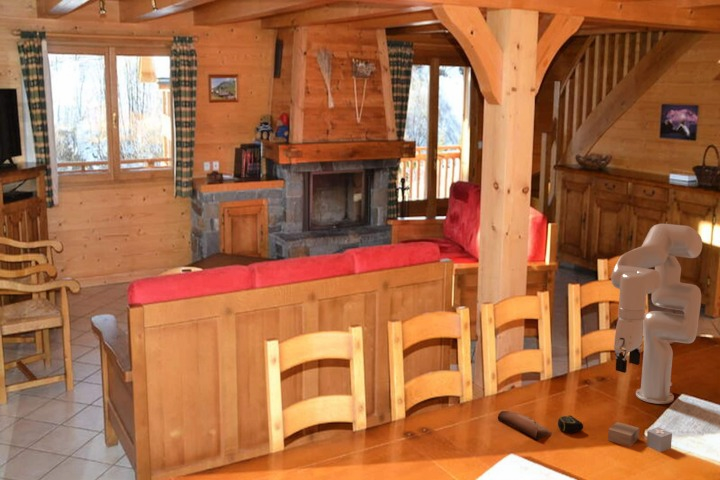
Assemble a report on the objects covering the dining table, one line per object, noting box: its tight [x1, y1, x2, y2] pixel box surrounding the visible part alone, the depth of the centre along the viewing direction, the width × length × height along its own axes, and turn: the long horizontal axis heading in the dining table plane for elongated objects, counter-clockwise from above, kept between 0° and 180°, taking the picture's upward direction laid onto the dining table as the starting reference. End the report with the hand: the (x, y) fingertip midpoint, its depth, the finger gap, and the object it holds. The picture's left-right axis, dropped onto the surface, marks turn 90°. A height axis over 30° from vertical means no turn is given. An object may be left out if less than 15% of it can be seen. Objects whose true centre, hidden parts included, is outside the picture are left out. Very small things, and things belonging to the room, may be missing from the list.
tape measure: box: [557, 415, 584, 434], centre depth 244 cm, size 7×7×4 cm
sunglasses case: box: [497, 410, 554, 441], centre depth 246 cm, size 18×7×7 cm
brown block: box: [607, 421, 640, 448], centre depth 237 cm, size 7×7×4 cm
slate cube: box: [646, 426, 673, 453], centre depth 232 cm, size 5×5×5 cm
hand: (627, 367), depth 232 cm, fingers open, 8 cm apart
